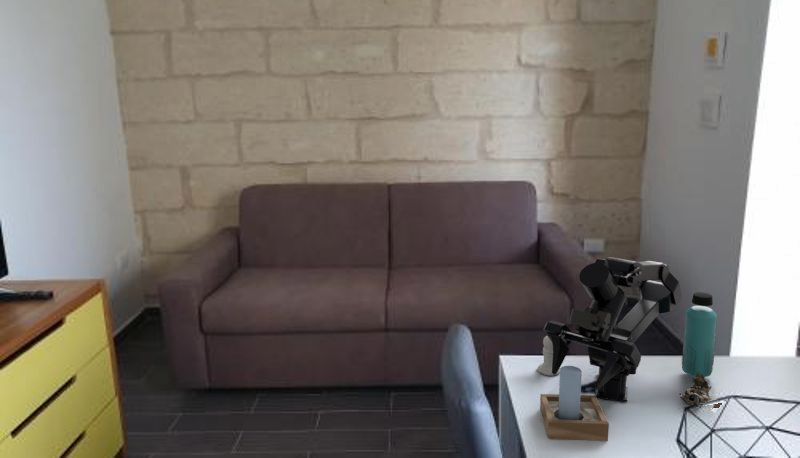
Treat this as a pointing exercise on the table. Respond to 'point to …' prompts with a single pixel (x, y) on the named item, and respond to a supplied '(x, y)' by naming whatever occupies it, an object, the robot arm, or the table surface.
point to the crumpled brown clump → (699, 392)
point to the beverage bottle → (699, 336)
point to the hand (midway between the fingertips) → (574, 381)
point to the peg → (569, 393)
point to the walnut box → (585, 428)
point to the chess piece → (547, 358)
